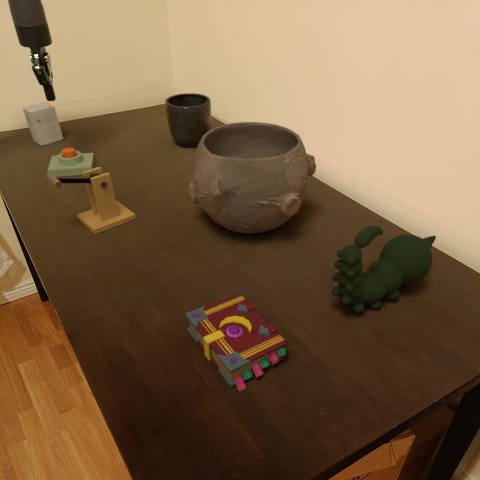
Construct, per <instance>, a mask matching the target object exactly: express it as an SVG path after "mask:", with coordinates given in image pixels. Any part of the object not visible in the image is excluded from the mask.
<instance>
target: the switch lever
mask: <svg viewBox="0 0 480 480" xmlns="http://www.w3.org/2000/svg"><path fill="white" fill-rule="evenodd" d="M98 175H101V174H90V177H83V176H82V177H81V176H62V177H55V176H53V175H52V174H51V173H48V172H47V173H46V174H45V178H46V180H48V181H49V183H51V184H52V185H53V186H54V187H55V188H61V187H62V185H63V184H85V183H90V184H91V180H90V178H92V177H95V176H98ZM91 185H92V184H91Z"/></svg>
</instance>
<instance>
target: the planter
mask: <svg viewBox="0 0 480 480" xmlns="http://www.w3.org/2000/svg"><path fill="white" fill-rule="evenodd" d="M164 105H165V107H164V108H165V112H166V119H167V124H168V129H169V132H170V135H171V136H172V138H173V140H174V141H176V142H177V144H179V145H180V146H181V147H185V148H195V147H196V148H197V147H198V144H199V142H200V140H201V139H202V137H203V135H204V134H206V133H207V132H208V131H209V130H211V127H212V121H211V120H212V102H211V98H210V97H209V96H207V95H205V94H201V93H193V92H191V93H188V92H186V93H177V94H174V95H171V96H168V97H166V99H165V100H164Z"/></svg>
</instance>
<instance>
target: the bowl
mask: <svg viewBox="0 0 480 480" xmlns="http://www.w3.org/2000/svg"><path fill="white" fill-rule="evenodd" d="M316 170H317V164H316V158H315V156H314V155H311V154H308V153H307V151H306V147H305V144H304V143H303V140H302V138H301V137H300V135H299V134H298V133H297V132H295V131H294V130H292V129H290V128H287V127H286V126H282V125H279V124H276V123H269V122H260V121H259V122H258V121H238V122H231V123H230V122H229V123H226V124H221V125H219V126H216V127H214V128H212V129H211V128H210V130H209V131H208V132H207V133H206V134H204V135H203V137H202V139H201V140H200V142H199V144H198V146H196V149H195V153H194V157H193V162H192V172H191V173H192V175H191V176H192V180H191V181H190V182H189V188H188V189H189V190H188V191H189V195H190V197H191V200H192V203H193V204H194V205H197V204H199V206H200V207H201V208H202V209H203V211H204V212H205V213H206V214H207V215H208V216H209V217H210V218H211V220H213V221H214V222H215V223H216V224H218V225H220V226H222V227H224V228H226V229H227V230H230V231H232V232H235V233H240V234H247V235H250V234H257V233H260V234H261V233H265V232H269V231H272V230H275V229H277V228H278V227H281V226H282V225H284V224H285V223H286V222H287V221H288V220H290V219H291V218H292V216H294V215H295V214H296V213H298V211H299V209H300V207H301V205H302V203H303V200H304V197H305V193H306V189H307V184H308V180H309V177H312V176H314V174H315V173H316Z"/></svg>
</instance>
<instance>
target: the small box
mask: <svg viewBox="0 0 480 480" xmlns="http://www.w3.org/2000/svg"><path fill="white" fill-rule="evenodd" d="M22 111H23V113H24V117H25V119H26V120H25V121H26V122H27V125H28V129H29V132H30V135H31V137H32V140H33V142H34V143H35V144H38V145H39V146H41V147H43V146H47V145H50V144H53V143H57V142H60V141H63V140H64V136H63V132H62V129H61V126H60V122H59V119H58V115H57V111H56V109H55V106H54V105H52V104H50V103H49V102H47V101H45V102H41V103H36V104H33V105H29V106H25V107H22Z"/></svg>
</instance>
